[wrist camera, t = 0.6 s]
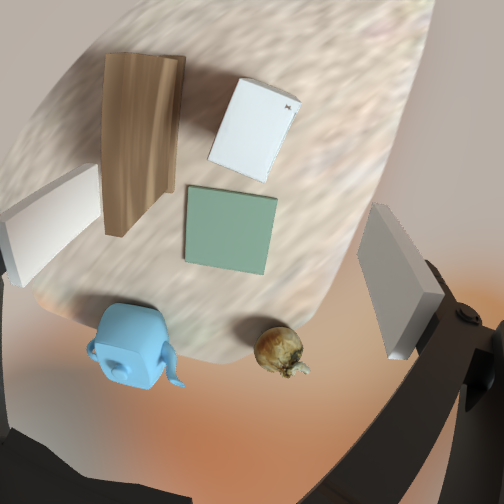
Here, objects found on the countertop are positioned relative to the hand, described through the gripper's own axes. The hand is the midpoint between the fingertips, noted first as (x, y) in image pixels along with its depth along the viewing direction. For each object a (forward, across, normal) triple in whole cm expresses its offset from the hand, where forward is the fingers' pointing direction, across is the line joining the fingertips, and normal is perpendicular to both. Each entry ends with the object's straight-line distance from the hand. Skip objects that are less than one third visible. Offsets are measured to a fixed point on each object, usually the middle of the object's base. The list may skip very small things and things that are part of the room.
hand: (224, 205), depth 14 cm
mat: (+24, -3, -14) cm, 27 cm away
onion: (+24, +7, -31) cm, 40 cm away
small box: (+24, 0, +1) cm, 24 cm away
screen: (+24, -12, 0) cm, 26 cm away
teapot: (+24, -15, -34) cm, 44 cm away
